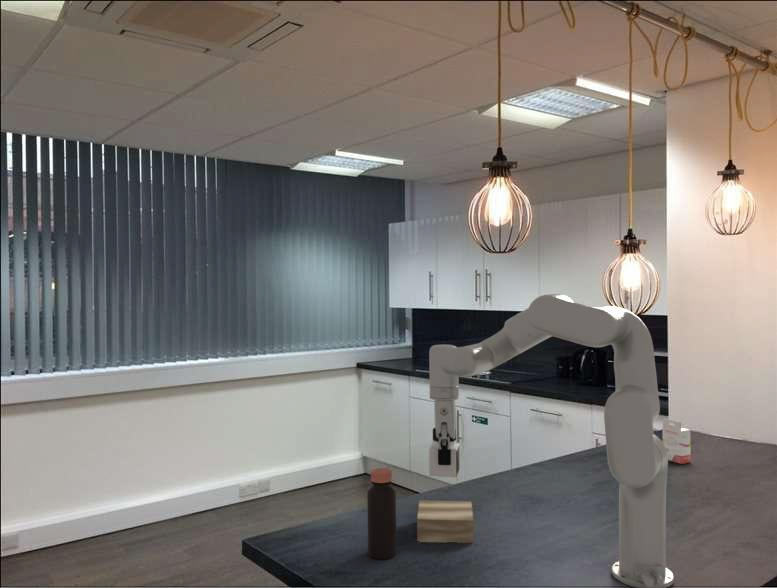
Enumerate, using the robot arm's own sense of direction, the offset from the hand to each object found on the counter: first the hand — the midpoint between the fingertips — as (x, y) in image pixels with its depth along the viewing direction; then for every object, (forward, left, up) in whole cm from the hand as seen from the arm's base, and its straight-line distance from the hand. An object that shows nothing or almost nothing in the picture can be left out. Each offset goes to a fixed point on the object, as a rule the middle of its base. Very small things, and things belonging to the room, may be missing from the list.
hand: (444, 459), depth 168 cm
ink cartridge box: (+71, -82, -19) cm, 110 cm away
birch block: (0, 0, -19) cm, 19 cm away
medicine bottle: (0, 0, -4) cm, 4 cm away
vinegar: (-15, +15, -19) cm, 28 cm away
